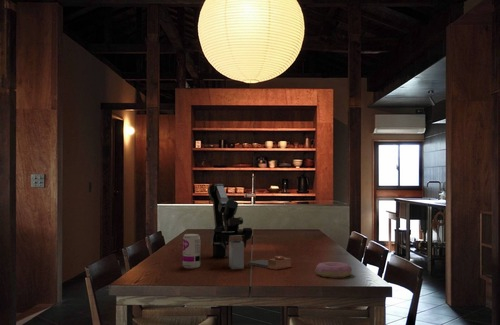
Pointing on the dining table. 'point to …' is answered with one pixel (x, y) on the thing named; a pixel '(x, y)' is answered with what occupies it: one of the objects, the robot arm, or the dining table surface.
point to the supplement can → (191, 251)
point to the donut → (333, 269)
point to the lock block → (236, 254)
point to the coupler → (273, 263)
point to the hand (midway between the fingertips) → (235, 248)
